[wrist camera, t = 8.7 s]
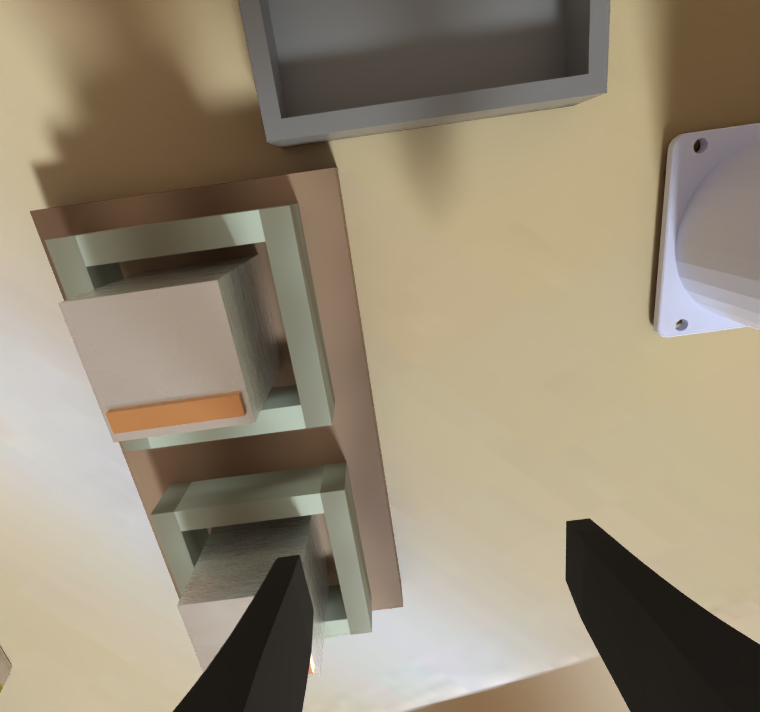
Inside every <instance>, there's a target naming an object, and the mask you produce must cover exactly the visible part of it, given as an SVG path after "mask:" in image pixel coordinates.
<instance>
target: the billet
mask: <svg viewBox="0 0 760 712" xmlns="http://www.w3.org/2000/svg"><path fill="white" fill-rule="evenodd" d="M294 555H300V557H301V561H302V565H303V569H304V573H305V577H306V581H307V585H308V589H309V593H310V597H311V601H312V605H313V609H314V617H313V636H312V652H311V659H310V665H309V671H308V677H309V676H317V675H321V665H322V655H323V644H324V633H325V623H326V612H327V602H328V591H329V581H330V570H329V565H328V561H327V556H326V552H325V548H324V543H323V539H322V534H321V530H320V525H319V521H318V516H317V514H314V515H306V516H298V517H290V518H283V519H275V520H267V521H259V522H251V523H243V524H235V525H227V526H220V527H213V528H212V530H211V532H210V535H209V537H208V539H207V541H206V543H205V546H204V548H203V550H202V552H201V554H200V557H199V559H198V561H197V563H196V566H195V568H194V570H193V572H192V574H191V577H190V579H189V581H188V583H187V585H186V588H185V590H184V592H183V594H182V597H181V599H180V601H179V603H178V605H177V606H178V609H179V611H180V614H181V616H182V619H183V622H184V624H185V627H186V629H187V632H188V634H189V637H190V639H191V642H192V645H193V647H194V650H195V652H196V655H197V657H198V660H199V662H200V665H201V668H202V670H203V673H204V671H205V670H206V669H207V667H208V666H209V664H210V663H211V662H212V660H213V659H214V657H215V656H216V654H217V653H218V652H219V650H220V649H221V647H222V646H223V644H224V643H225V642H226V640H227V639H228V637H229V636H230V634H231V633H232V631H233V630H234V628H235V627H236V625H237V623H238V622H239V620H240V619H241V617H242V615H243V614H244V612H245V611H246V609H247V608H248V606H249V604H250V603H251V601H252V599H253V598H254V596H255V594H256V593H257V591H258V589H259V588H260V586H261V584H262V583H263V581H264V579H265V577H266V576H267V574H268V572H269V570H270V568H271V567H272V565H273V563H274V561H275V560H276V559H277V558H278V557H286V556H294Z"/></svg>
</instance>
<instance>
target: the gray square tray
mask: <svg viewBox="0 0 760 712" xmlns="http://www.w3.org/2000/svg"><path fill="white" fill-rule="evenodd" d="M238 1H239V6H240V11H241V16H242V21H243V26H244V31H245V36H246V41H247V46H248V51H249V56H250V61H251V66H252V71H253V76H254V81H255V86H256V91H257V95H258V100H259V105H260V110H261V115H262V120H263V125H264V130H265V135H266V140H267V142H268V143H270V144H273V145H275V146H277V147H280V148H283V147H290V146H297V145H304V144H311V143H318V142H325V141H332V140H339V139H346V138H353V137H359V136H366V135H373V134H380V133H387V132H394V131H401V130H408V129H415V128H422V127H429V126H436V125H442V124H449V123H456V122H463V121H470V120H477V119H484V118H491V117H498V116H505V115H512V114H519V113H526V112H532V111H539V110H546V109H553V108H560V107H567V106H574V105H576V104H579V103H581V102H584V101H587V100H589V99H592V98H594V97H597V96H600V95H602V94H605V93H607V74H608V48H609V21H610V0H238Z"/></svg>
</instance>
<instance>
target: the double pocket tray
mask: <svg viewBox="0 0 760 712" xmlns="http://www.w3.org/2000/svg"><path fill="white" fill-rule="evenodd" d="M30 213H31V216H32V218H33V221H34V223H35V226H36V229H37V231H38V234H39V236H40V239H41V242H42V244H43V247H44V249H45V252H46V254H47V257H48V260H49V262H50V265H51V267H52V270H53V273H54V275H55V278H56V280H57V283H58V286H59V288H60V291H61V293H62V296H63V299H64V301H65V300H68V299H70V298H73V297H76V296H78V295H81V294H84V293H86V292H89V291H91V290H94V289H97V288H99V287H102V286H105V285H107V284H110V283H113V282H115V281H118V280H120V279H123V278H126V277H128V276H131V275H134V274H136V273H139V272H141V271H146V270H153V269H160V268H166V267H173V266H180V265H187V264H194V263H201V262H208V261H214V260H221V259H228V258H235V257H242V256H249V255H256V254H259V259H260V263H261V267H262V272H263V276H264V281H265V285H266V289H267V294H268V298H269V302H270V307H271V311H272V315H273V320H274V324H275V328H276V333H277V337H278V341H279V346H280V350H281V355H282V359H283V365H282V367H281V369H280V371H279V373H278V375H277V378H276V380H275V382H274V384H273V386H272V388H271V390H270V392H269V395H268V397H267V399H266V401H265V403H264V405H263V407H262V409H261V412H260V414H259V416H258V418H257V420H256V422H255V423H250V424H243V425H236V426H228V427H221V428H214V429H206V430H199V431H192V432H185V433H177V434H170V435H163V436H155V437H148V438H141V439H133V440H126V441H119V444H120V446H121V449H122V451H123V454H124V457H125V459H126V462H127V464H128V467H129V470H130V472H131V475H132V477H133V480H134V483H135V485H136V488H137V490H138V493H139V496H140V498H141V501H142V503H143V506H144V508H145V511H146V514H147V516H148V519H149V521H150V524H151V527H152V529H153V532H154V534H155V537H156V540H157V542H158V545H159V547H160V550H161V553H162V555H163V558H164V560H165V563H166V566H167V568H168V571H169V573H170V576H171V578H172V581H173V584H174V586H175V589H176V591H177V594H178V597H179V599H181V597H182V594H183V592H184V590H185V588H186V585H187V583H188V581H189V579H190V577H191V574H192V572H193V570H194V568H195V566H196V563H197V561H198V559H199V557H200V554H201V552H202V550H203V548H204V546H205V543H206V541H207V539H208V537H209V535H210V532H211V530H212V528H213V527H220V526H227V525H235V524H243V523H251V522H259V521H267V520H275V519H283V518H290V517H298V516H306V515H314V514H317V516H318V521H319V525H320V530H321V534H322V539H323V543H324V548H325V552H326V556H327V561H328V565H329V570H330V581H329V591H328V602H327V612H326V623H325V633H324V638H327V637H335V636H344V635H352V634H360V633H368V632H372V610H381V609H389V608H397V607H403V599H402V587H401V579H400V572H399V566H398V559H397V553H396V546H395V540H394V533H393V527H392V520H391V514H390V507H389V501H388V494H387V488H386V481H385V475H384V468H383V462H382V455H381V449H380V442H379V436H378V429H377V423H376V416H375V410H374V403H373V396H372V390H371V383H370V377H369V370H368V364H367V357H366V351H365V344H364V338H363V331H362V325H361V318H360V312H359V305H358V299H357V292H356V286H355V279H354V273H353V266H352V260H351V253H350V247H349V240H348V234H347V227H346V221H345V214H344V208H343V201H342V195H341V188H340V181H339V175H338V169H337V168H335V167H334V168H327V169H321V170H314V171H307V172H300V173H293V174H286V175H279V176H272V177H265V178H258V179H251V180H244V181H237V182H230V183H223V184H216V185H209V186H202V187H195V188H188V189H181V190H174V191H167V192H160V193H153V194H146V195H139V196H132V197H125V198H118V199H111V200H104V201H97V202H90V203H83V204H76V205H69V206H62V207H55V208H48V209H41V210H34V211H30Z"/></svg>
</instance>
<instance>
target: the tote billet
mask: <svg viewBox="0 0 760 712" xmlns="http://www.w3.org/2000/svg"><path fill="white" fill-rule="evenodd" d="M59 306H60V308H61V311H62V313H63V316H64V318H65V321H66V323H67V326H68V329H69V331H70V334H71V336H72V339H73V341H74V344H75V346H76V349H77V351H78V354H79V356H80V359H81V361H82V364H83V366H84V369H85V371H86V374H87V376H88V379H89V381H90V384H91V386H92V389H93V391H94V394H95V396H96V399H97V401H98V404H99V407H100V409H101V412H102V414H103V417H104V419H105V422H106V424H107V427H108V429H109V432H110V434H111V437H112V439H113V442H119V441H126V440H133V439H141V438H148V437H155V436H163V435H170V434H177V433H185V432H192V431H199V430H206V429H214V428H221V427H228V426H236V425H243V424H250V423H255V422H256V420H257V418H258V416H259V414H260V412H261V409H262V407H263V405H264V403H265V401H266V399H267V397H268V395H269V392H270V390H271V388H272V386H273V384H274V382H275V380H276V378H277V375H278V373H279V371H280V369H281V367H282V365H283V359H282V355H281V350H280V346H279V341H278V337H277V333H276V328H275V324H274V320H273V315H272V311H271V307H270V302H269V298H268V294H267V289H266V285H265V281H264V276H263V272H262V267H261V263H260V259H259V254H256V255H249V256H242V257H235V258H228V259H221V260H214V261H208V262H201V263H194V264H187V265H180V266H173V267H166V268H160V269H153V270H146V271H141V272H139V273H136V274H134V275H131V276H128V277H126V278H123V279H120V280H118V281H115V282H113V283H110V284H107V285H105V286H102V287H99V288H97V289H94V290H91V291H89V292H86V293H84V294H81V295H78V296H76V297H73V298H70V299H68V300H65V301H63V302H60V303H59Z"/></svg>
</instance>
